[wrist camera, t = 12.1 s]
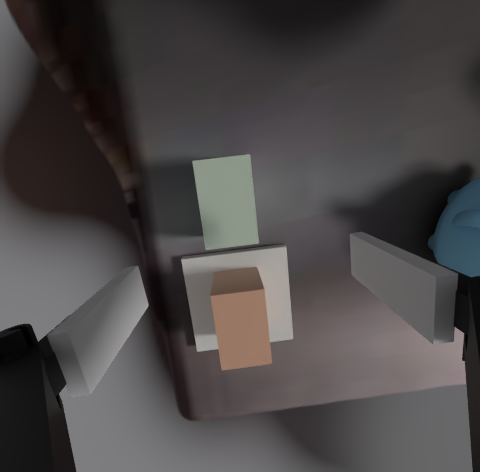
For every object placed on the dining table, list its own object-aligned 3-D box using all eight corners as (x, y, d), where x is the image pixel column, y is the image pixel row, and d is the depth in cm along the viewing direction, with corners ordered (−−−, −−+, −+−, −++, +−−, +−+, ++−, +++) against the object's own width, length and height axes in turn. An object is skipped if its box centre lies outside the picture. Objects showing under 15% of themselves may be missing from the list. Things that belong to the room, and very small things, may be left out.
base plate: (182, 256, 29) (181, 259, 28) (283, 244, 29) (286, 246, 28) (198, 345, 32) (197, 351, 31) (290, 333, 32) (293, 339, 31)
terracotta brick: (214, 272, 28) (210, 296, 23) (257, 267, 29) (264, 289, 23) (223, 333, 30) (221, 370, 24) (263, 328, 30) (272, 363, 24)
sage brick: (200, 165, 27) (192, 160, 21) (245, 160, 27) (249, 154, 21) (210, 236, 29) (205, 249, 23) (252, 230, 29) (258, 243, 23)
